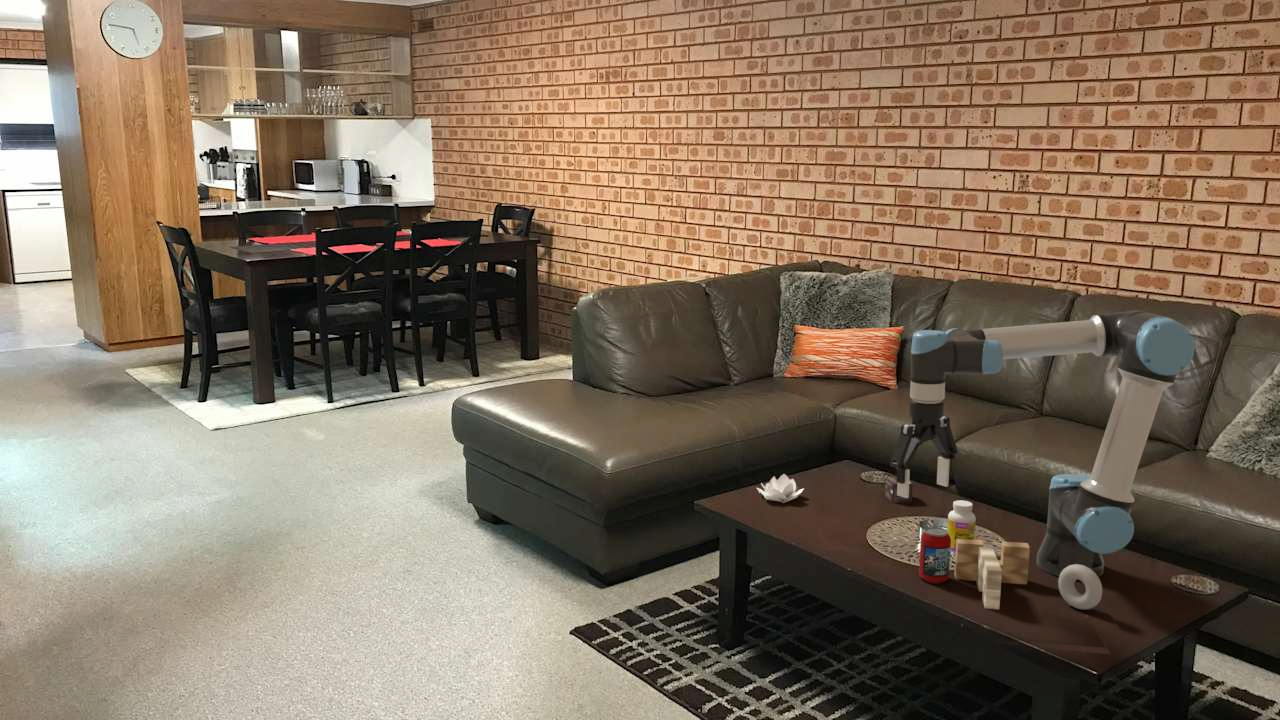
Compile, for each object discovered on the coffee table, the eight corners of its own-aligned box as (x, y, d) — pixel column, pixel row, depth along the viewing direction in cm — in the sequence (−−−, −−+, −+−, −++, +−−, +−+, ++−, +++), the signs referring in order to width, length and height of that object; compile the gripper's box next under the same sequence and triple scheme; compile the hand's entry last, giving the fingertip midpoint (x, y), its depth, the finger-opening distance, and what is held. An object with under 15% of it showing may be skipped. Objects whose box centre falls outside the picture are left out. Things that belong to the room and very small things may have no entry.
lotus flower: (814, 511, 294) (815, 481, 293) (764, 515, 291) (765, 485, 289) (795, 495, 308) (796, 466, 306) (747, 499, 304) (747, 470, 303)
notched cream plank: (976, 583, 244) (978, 546, 242) (989, 584, 244) (992, 547, 242) (985, 608, 231) (987, 569, 229) (999, 609, 230) (1002, 570, 228)
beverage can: (928, 586, 242) (931, 537, 240) (913, 575, 249) (916, 527, 246) (954, 583, 244) (957, 534, 242) (938, 572, 251) (941, 524, 248)
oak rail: (1024, 579, 247) (1027, 543, 245) (1026, 584, 244) (1029, 547, 242) (954, 574, 249) (956, 538, 248) (955, 579, 246) (958, 543, 245)
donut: (1103, 614, 228) (1107, 570, 226) (1094, 618, 226) (1098, 574, 224) (1062, 598, 236) (1065, 556, 234) (1053, 602, 234) (1056, 560, 232)
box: (884, 501, 302) (885, 477, 301) (904, 500, 303) (905, 476, 302) (891, 508, 297) (892, 483, 295) (911, 507, 297) (913, 483, 296)
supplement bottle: (950, 556, 260) (953, 507, 258) (942, 547, 267) (945, 499, 264) (977, 556, 261) (980, 507, 258) (968, 546, 267) (971, 498, 265)
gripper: (949, 389, 244) (945, 476, 248) (875, 404, 230) (872, 497, 234) (976, 395, 238) (971, 484, 242) (902, 410, 224) (898, 505, 228)
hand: (922, 490), depth 238 cm, fingers open, 13 cm apart
